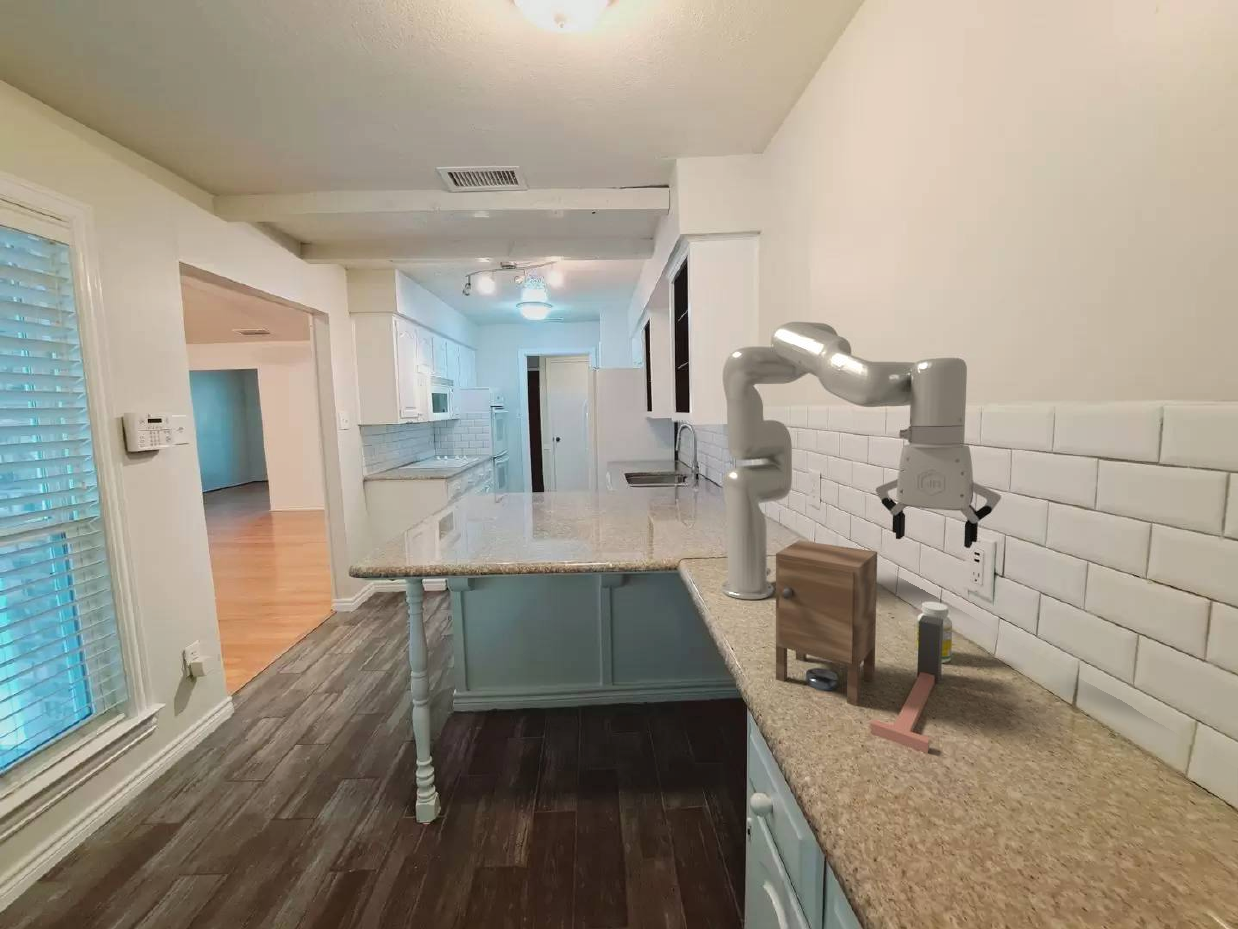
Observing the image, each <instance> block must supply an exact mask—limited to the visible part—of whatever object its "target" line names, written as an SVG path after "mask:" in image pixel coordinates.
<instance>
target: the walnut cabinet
mask: <svg viewBox="0 0 1238 929" xmlns="http://www.w3.org/2000/svg"><path fill="white" fill-rule="evenodd" d="M877 580H878V551H875V550H868V549H860V548H855V547H854V548H853V547H846V546H840V545H834V544H826V543H819V542H813V541H805V540H798V541H795V542H794V543H792V544H790V545H789V546H787V547H784V548H782V549H781V550H780V551H778V552H776V553H775V680H778V681H781V682H785V681H786V680H787V679H788V650H789V651H790V650H791V651H795V660H798V661H799V662H804V661H805V660H807V655H808V656H811V657H815V658H819V659H822V660H825V661H829V662H831V663H835V664H839V665H842V666H846V667H847V678H846V680H847V684H846V685H847V686H846V687H847V690H846V703H847V704H851V705H852V706H857V705H858V704H859V703H860V687H861V685H860V684H861V683H860V680H861V678H860V677H861V676H860V675H861V674H860V673H861V665H862V663H863V666H862V667H863V669H862V670H863V674H862V675H863V677H862V678H863V680H865V681H868V682H871V683H873V681H874V680H875V675H876V674H875V673H876V672H875V670H876V668H875V666H876V632H877V631H876V630H877V629H876V626H877V625H876V624H877V623H876V622H877V587H878V586H877V585H878V584H877V583H878V581H877Z"/></svg>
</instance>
